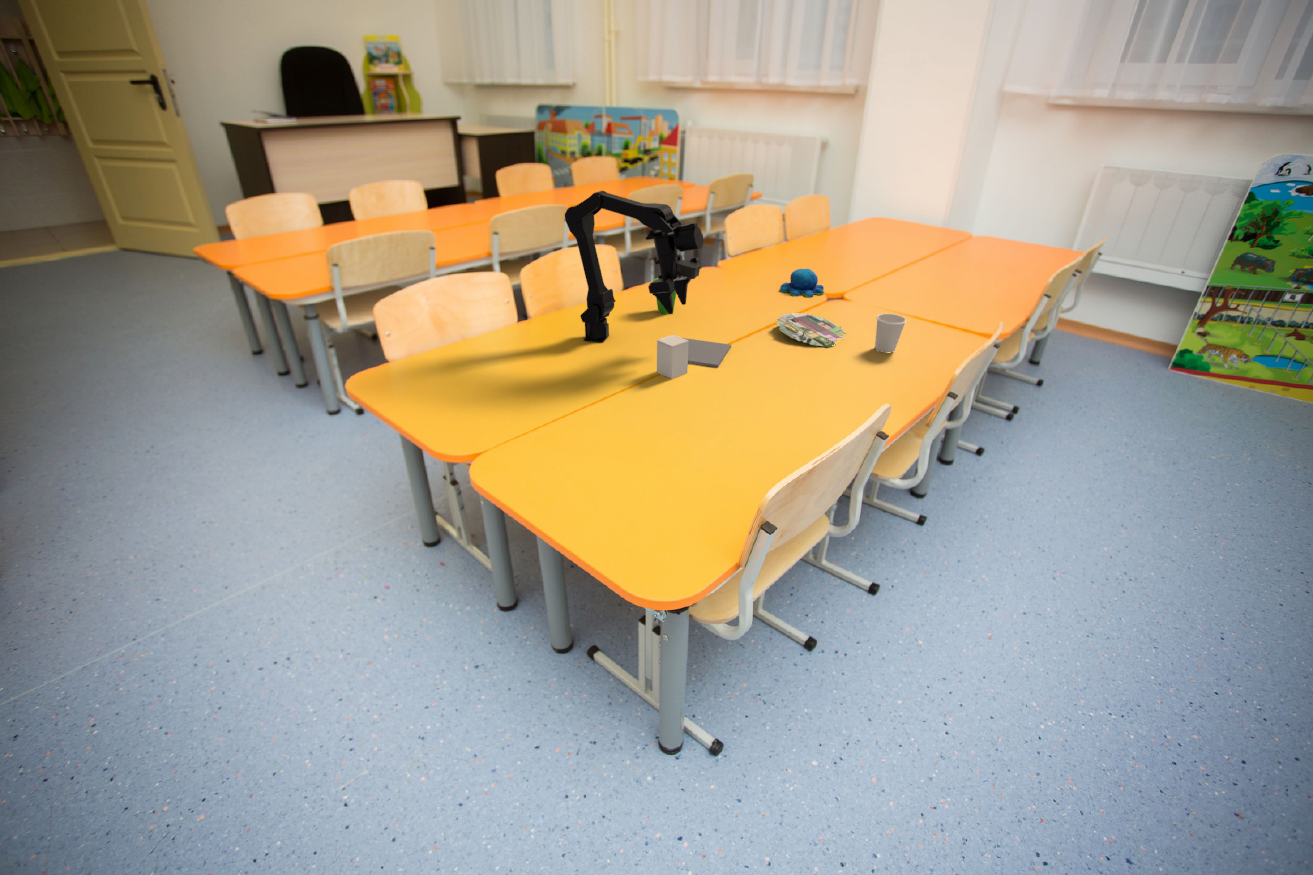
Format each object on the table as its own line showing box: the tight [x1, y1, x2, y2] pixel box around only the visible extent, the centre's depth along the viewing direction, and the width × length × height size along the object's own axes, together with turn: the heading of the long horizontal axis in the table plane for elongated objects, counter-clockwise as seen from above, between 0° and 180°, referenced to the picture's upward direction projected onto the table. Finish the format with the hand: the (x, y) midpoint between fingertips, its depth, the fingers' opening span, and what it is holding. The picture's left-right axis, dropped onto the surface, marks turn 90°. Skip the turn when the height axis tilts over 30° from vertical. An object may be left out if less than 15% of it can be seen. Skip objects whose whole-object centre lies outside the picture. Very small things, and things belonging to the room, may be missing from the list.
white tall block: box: [656, 334, 689, 380], centre depth 165 cm, size 6×6×10 cm
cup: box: [652, 277, 677, 315], centre depth 208 cm, size 9×9×11 cm
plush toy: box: [778, 268, 825, 299], centre depth 232 cm, size 17×17×8 cm
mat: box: [682, 337, 732, 368], centre depth 180 cm, size 16×16×1 cm
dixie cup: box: [874, 313, 907, 353], centre depth 181 cm, size 8×8×10 cm
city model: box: [776, 312, 847, 348], centre depth 193 cm, size 25×23×6 cm
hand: (677, 309), depth 172 cm, fingers open, 9 cm apart
